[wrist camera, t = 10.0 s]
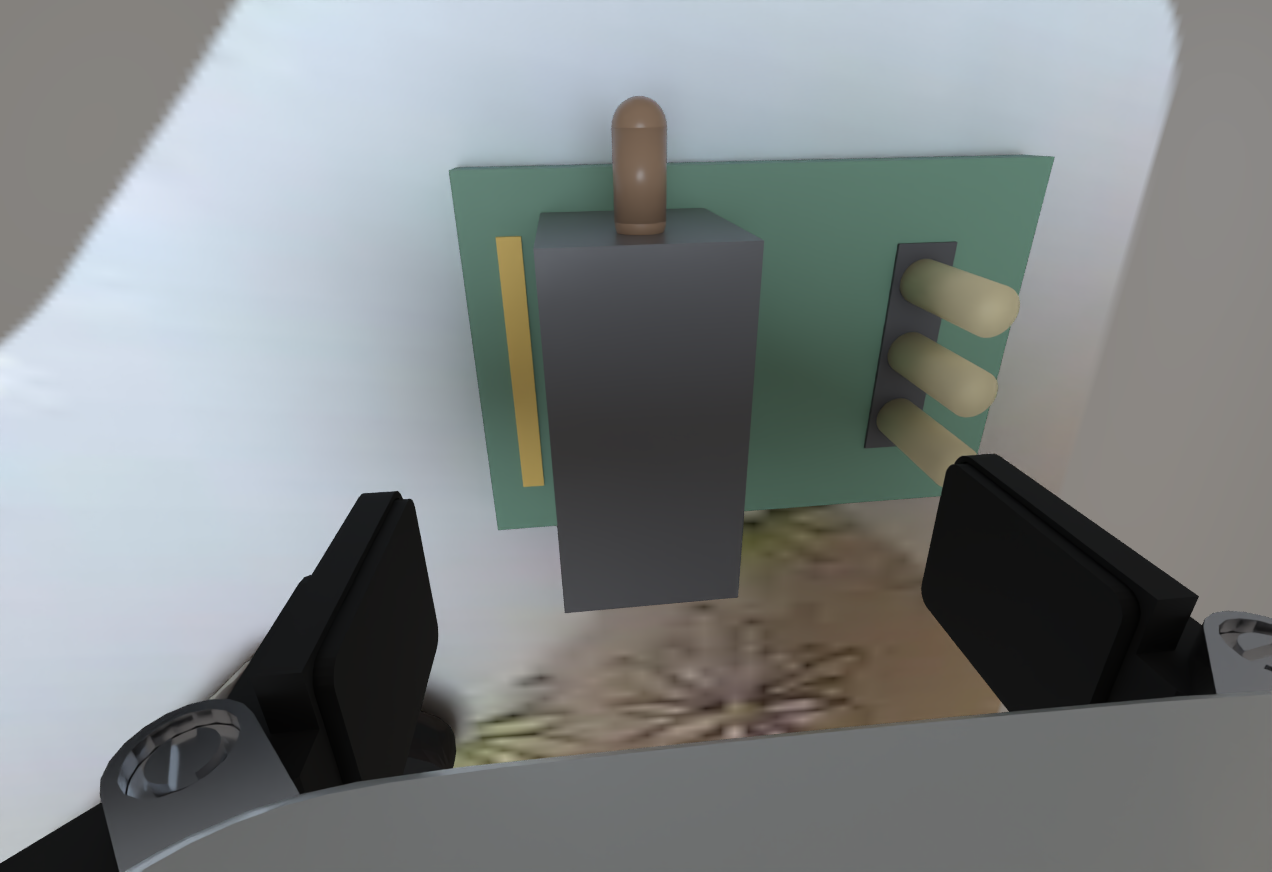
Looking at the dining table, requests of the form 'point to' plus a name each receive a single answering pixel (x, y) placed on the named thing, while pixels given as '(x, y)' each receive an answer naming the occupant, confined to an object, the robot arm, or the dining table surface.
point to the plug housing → (647, 383)
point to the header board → (787, 314)
